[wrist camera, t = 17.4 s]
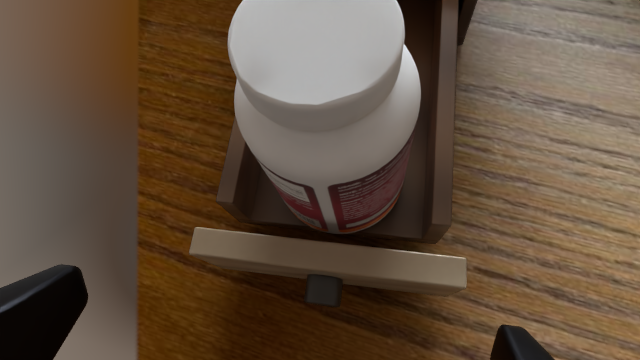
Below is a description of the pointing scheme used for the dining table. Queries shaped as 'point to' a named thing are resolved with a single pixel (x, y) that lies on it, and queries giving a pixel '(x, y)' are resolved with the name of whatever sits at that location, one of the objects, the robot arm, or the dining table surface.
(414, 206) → the drawer
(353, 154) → the pill bottle
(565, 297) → the dining table surface
